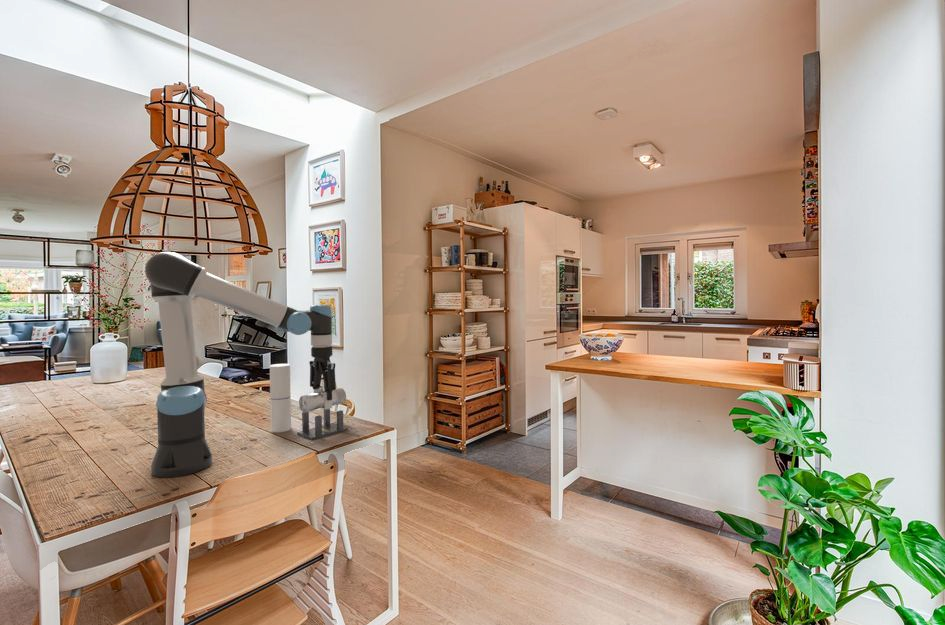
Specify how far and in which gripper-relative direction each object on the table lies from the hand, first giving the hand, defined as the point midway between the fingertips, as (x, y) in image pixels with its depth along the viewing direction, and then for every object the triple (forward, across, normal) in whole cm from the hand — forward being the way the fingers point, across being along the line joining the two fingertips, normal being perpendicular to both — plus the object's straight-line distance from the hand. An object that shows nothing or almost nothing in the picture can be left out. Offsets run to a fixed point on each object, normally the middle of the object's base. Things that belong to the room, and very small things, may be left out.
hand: (323, 407), depth 162 cm
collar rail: (+10, 0, 0) cm, 10 cm away
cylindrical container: (+10, +16, +8) cm, 21 cm away
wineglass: (+10, +11, -9) cm, 17 cm away
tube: (0, 0, 0) cm, 0 cm away
